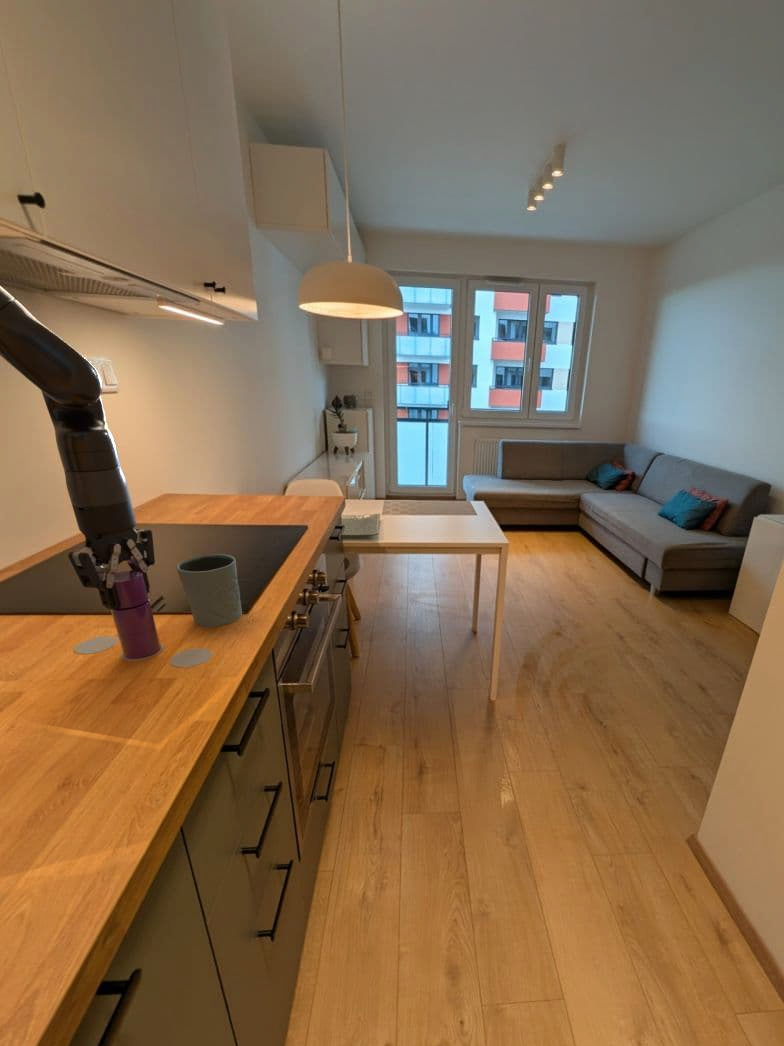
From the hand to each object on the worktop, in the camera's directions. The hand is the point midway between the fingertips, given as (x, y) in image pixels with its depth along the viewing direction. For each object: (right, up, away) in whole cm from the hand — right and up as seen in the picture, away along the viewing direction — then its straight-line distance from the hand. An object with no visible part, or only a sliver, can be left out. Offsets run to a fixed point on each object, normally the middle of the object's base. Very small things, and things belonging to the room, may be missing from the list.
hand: (128, 600), depth 83 cm
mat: (0, -9, +4) cm, 10 cm away
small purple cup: (0, -9, +4) cm, 10 cm away
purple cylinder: (0, -5, +2) cm, 5 cm away
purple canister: (0, 0, 0) cm, 0 cm away
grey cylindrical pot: (+7, -4, +17) cm, 18 cm away
